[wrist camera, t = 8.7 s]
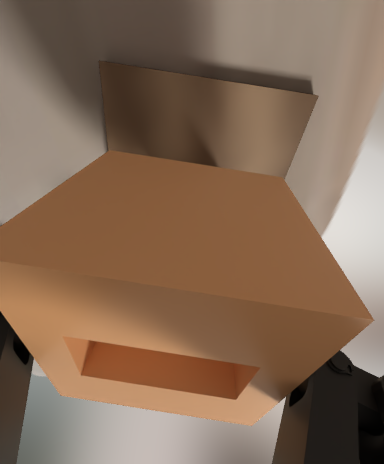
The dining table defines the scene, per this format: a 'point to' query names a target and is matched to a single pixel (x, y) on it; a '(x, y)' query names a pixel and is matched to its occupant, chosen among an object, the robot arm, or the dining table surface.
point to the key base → (202, 119)
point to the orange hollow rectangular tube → (175, 288)
